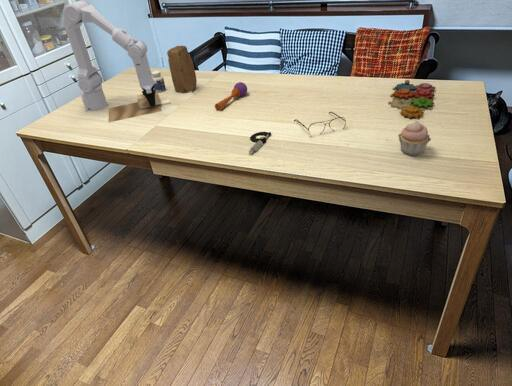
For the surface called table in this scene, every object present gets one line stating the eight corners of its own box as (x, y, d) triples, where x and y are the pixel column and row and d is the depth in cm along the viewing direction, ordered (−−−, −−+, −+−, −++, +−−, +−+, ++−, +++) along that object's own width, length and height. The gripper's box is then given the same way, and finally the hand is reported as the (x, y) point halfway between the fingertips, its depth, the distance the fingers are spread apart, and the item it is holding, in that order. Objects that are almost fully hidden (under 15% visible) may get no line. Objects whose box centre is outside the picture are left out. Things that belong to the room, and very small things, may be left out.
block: (186, 96, 170) (176, 51, 158) (173, 94, 173) (163, 50, 161) (200, 87, 177) (192, 44, 165) (188, 85, 180) (179, 43, 168)
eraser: (162, 108, 162) (161, 103, 161) (161, 104, 165) (160, 100, 164) (171, 106, 163) (170, 102, 161) (170, 103, 166) (169, 98, 164)
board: (109, 124, 153) (108, 122, 152) (109, 110, 165) (108, 108, 164) (162, 113, 157) (161, 110, 156) (158, 99, 169) (158, 97, 169)
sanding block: (141, 110, 159) (137, 99, 156) (140, 106, 163) (136, 95, 160) (161, 104, 161) (158, 93, 158) (160, 101, 164) (157, 90, 161)
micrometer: (256, 132, 135) (255, 126, 134) (273, 135, 132) (273, 129, 131) (234, 152, 125) (234, 146, 123) (253, 156, 122) (252, 149, 120)
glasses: (308, 138, 128) (307, 124, 125) (293, 125, 141) (292, 112, 138) (346, 129, 130) (346, 116, 128) (328, 117, 143) (328, 105, 140)
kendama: (210, 101, 152) (236, 80, 164) (215, 114, 156) (241, 92, 168) (220, 100, 149) (247, 79, 161) (225, 113, 152) (251, 92, 164)
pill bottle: (165, 94, 174) (160, 73, 168) (154, 95, 175) (148, 74, 169) (167, 89, 179) (162, 69, 173) (156, 90, 179) (151, 70, 173)
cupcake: (420, 141, 118) (426, 112, 112) (433, 156, 111) (439, 126, 105) (391, 144, 118) (395, 115, 112) (401, 159, 111) (406, 130, 105)
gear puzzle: (432, 122, 128) (434, 111, 126) (383, 118, 134) (384, 108, 132) (434, 88, 151) (436, 78, 148) (393, 86, 157) (394, 77, 154)
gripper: (155, 76, 148) (163, 107, 156) (152, 66, 160) (159, 96, 168) (137, 79, 147) (146, 111, 155) (135, 69, 158) (144, 99, 166)
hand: (152, 103), depth 161 cm, fingers closed on sanding block, 4 cm apart
